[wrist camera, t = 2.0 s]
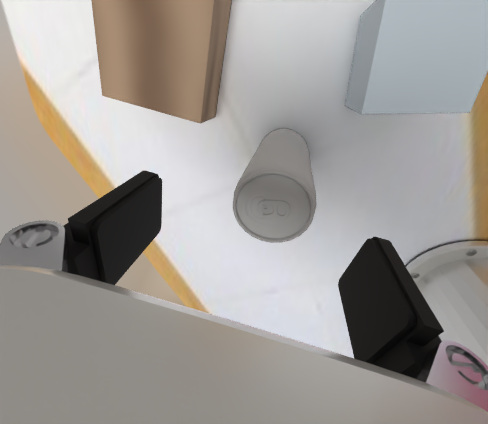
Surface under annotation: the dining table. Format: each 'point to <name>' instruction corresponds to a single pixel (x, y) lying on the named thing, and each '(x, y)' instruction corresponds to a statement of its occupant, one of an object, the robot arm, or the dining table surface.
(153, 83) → the walnut block
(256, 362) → the robot arm
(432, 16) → the grey-blue block
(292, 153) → the beverage can
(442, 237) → the dining table surface
